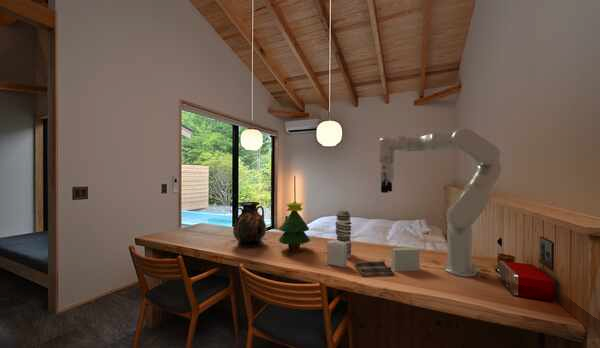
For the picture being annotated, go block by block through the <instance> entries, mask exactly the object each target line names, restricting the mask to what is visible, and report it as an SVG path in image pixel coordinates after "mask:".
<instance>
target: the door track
mask: <svg viewBox="0 0 600 348" xmlns="http://www.w3.org/2000/svg"><path fill="white" fill-rule="evenodd" d="M353 265H354V268H355V269H356V270H357V272H358V273H359V274H360V276H361V277H385V276H386V277H387V276H388V277H390V276H395V272H394V270H393V269H392V266H388V265H387V264H386V262H385V261H384V260H383V261H378V260H377V261H356V262H355V263H354V264H353Z"/></svg>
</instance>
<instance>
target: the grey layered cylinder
mask: <svg viewBox="0 0 600 348" xmlns="http://www.w3.org/2000/svg"><path fill="white" fill-rule="evenodd" d="M351 231H352V222H351V213H350V212H349V211H348V210H339V211H337V213H336V221H335V233H336V234H335V235H336V241H341V242H343V243H345V244H346V247H347V258H350V257H351V256H352V243H351V236H352V232H351Z"/></svg>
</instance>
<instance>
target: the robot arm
mask: <svg viewBox="0 0 600 348" xmlns="http://www.w3.org/2000/svg"><path fill="white" fill-rule="evenodd" d="M378 144H379V145H378V148H379V149H378V153H379V156H378V160H379V164H380V182H381V183H380V192H381V193H382V194H384V193H386V194H388V192H393V181H394V180H395V179H394V178H395V176H394V164H395V150H396V151H397V150H398V151H400V152H420V151H423V152H424V151H439V150H441V151H442V150H462V151H463V152H464V153H466V154H467V155H469V156H470V157H472V160H473V162H474V163H475V164H476V170H475V172H474V174H473V175H472V177H471V178H470V180H469V181H468V183H466V185H465V186H464V187H463V188H462V190H461V192H460V197H459V198H458V199H457V201H456V202H455V204H453V205H450V207H448V208H447V211H446V228H447V230H446V232H447V233H446V234H447V237H446V238H447V239H446V240H447V242H446V243H447V244H446V245H447V247H446V248H447V253H446V254H447V255H446V256H447V263H446V264H444V265H443V269H444V271H445V272H448V273H449V274H451V275H456V276H459V277H465V278H467V277H468V278H470V277H471V278H472V277H475V276H477V271H476V270H475V269H481V268H482V269H483V265H482V264H481V263H475V262H473V260H472V259H473V249H472V248H473V245H472V244H473V234H472V229H473V228H472V226H473V224H475V222H476V220H478V218H479V216H481V214H482V212H483V211H484V210H485V208H486V207H487V206H488V204H489V202H490V198H491V197H490V196H491V195H490V192H491V190H492V189H493V187H494V186H495V185H496V183H497V181H498V180H499V178H500V176H501V172H502V165H501V161H500V159H499V158H500V157H501V151H500V149H499V148H498V146H497V145H495V144H493V143H492V142H491V141H489V140H487V139H486V138H485V137H483V136H482V135H480V134H478V133H477V132H475V131H474V130H472V129H469V128H467V127H463V128H459V129H456V130H454V131H443V132H441V131H439V132H431V133H427V134H425V135H422V136H417V137H416V136H415V137H407V136H405V135H397V136H392V137H385V136H384V137H381V138H379V141H378Z"/></svg>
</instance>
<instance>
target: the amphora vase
mask: <svg viewBox="0 0 600 348" xmlns="http://www.w3.org/2000/svg"><path fill="white" fill-rule="evenodd" d="M240 206H241V207H240ZM259 209H261V213H259ZM239 210H241V213H240V214H238V211H239ZM238 215H239V216H238ZM232 233H233V237H234V238H235V239H236V241H237V243H236V245H237V246H238V247H239V248H240V249H241V248H242V249H254V248H258V247H260V246H262V245H263V238H264V237H265V236H266V234H267V225H266V221H265V209H264V208H263V206H262V205H260V202H259V201H244V202H240V203H239V207H236V208H235V211H234V224H233V228H232Z"/></svg>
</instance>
